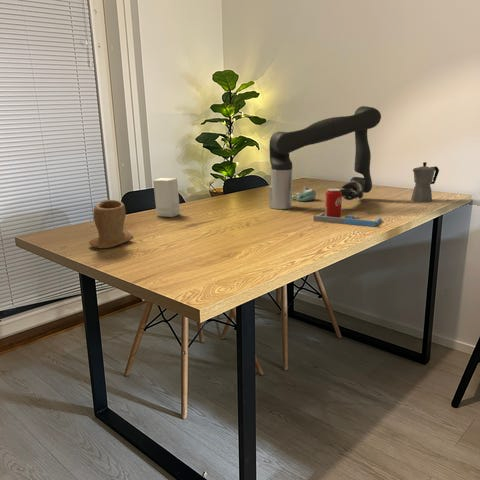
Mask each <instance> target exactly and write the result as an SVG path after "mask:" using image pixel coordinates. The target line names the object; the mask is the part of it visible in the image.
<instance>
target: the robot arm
mask: <svg viewBox="0 0 480 480" xmlns="http://www.w3.org/2000/svg"><path fill="white" fill-rule="evenodd" d="M381 119H382V113H381V111H379V110H378V109H377V108H375V107H371V106H366V105H363V106H359V107H357V109H355V111H354V114H352V115H347V116H346V115H345V116H344V115H343V116H333V117H329V118H324V119H321V120H318V121H316V122H314V123H312V124H309V125H308V126H307V127H305V128H302V129H298V130H293V131H287V132H286V131H276V132H274V133H273V134H272V135H271V137H270V139H269V163H270V166H271V168H270V169H271V172H270V173H271V174H270V175H271V177H270V178H271V184H270V186H269V209H270V208H271V209H274V210H289V209H292V207H293V203H292V202H293V199H292V195H293V162H292V161H291V159H290V153H293V152H295V151H297V150H299V149H302V148H304V147H306V146H311V145H316V144H320V143H323V142H324V143H325V142H328V141H331V140H333V139H336V138H340V137H343V136H347V135H349V134H351V133H354V139H355V140H354V142H355V156H354V167H353V168H354V172H355V173H357V174H360V175H362V176H363V177H361V176H352V177H351V178H350V181H348V182H347V183H345V184H343V185H342V187H341V188H339V189H340V191H341V193H342V199H345V200H346V201H353V200H354V199H357V198H358V199H359V200H360V199H362V198H363V197H364V193H365V194H366V193H367V194H369V193H370V192H371V190H372V188H373V180H372V176H371V169H370V167H371V159H372V158H371V157H372V155H371V148H370V144H369V140H368V130H369V129H373V128H375V127H377V126H378V125H379V124H380V121H381Z"/></svg>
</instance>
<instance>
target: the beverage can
mask: <svg viewBox="0 0 480 480" xmlns="http://www.w3.org/2000/svg"><path fill="white" fill-rule="evenodd" d="M340 189H341V188H336V187H335V188H334V187H333V188H327V191H326V192H325V199H324V200H325V201H324V202H325V203H324V212H325V215H324V216H327V217H338V218H342V204H343V203H342V199H343V197H342V193H341V191H340Z"/></svg>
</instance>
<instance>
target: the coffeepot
mask: <svg viewBox="0 0 480 480" xmlns="http://www.w3.org/2000/svg"><path fill="white" fill-rule="evenodd" d="M427 163H428V162H426V161H425V162H422V165H423V166H419V167H418V166H417V167H414V168H413V169H412V172H413V179H414V183H415V185H414V187H413V191H412V194H411V198H410V200H411V201H412V202H417V203H430V201H431V202H432V201H433V196H432V195H433V194H432V187H431V185H433V184H435V183H436V180H437V178H438V176H439V172H440V169H439V167H438V166H430V167H429V166H427Z"/></svg>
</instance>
